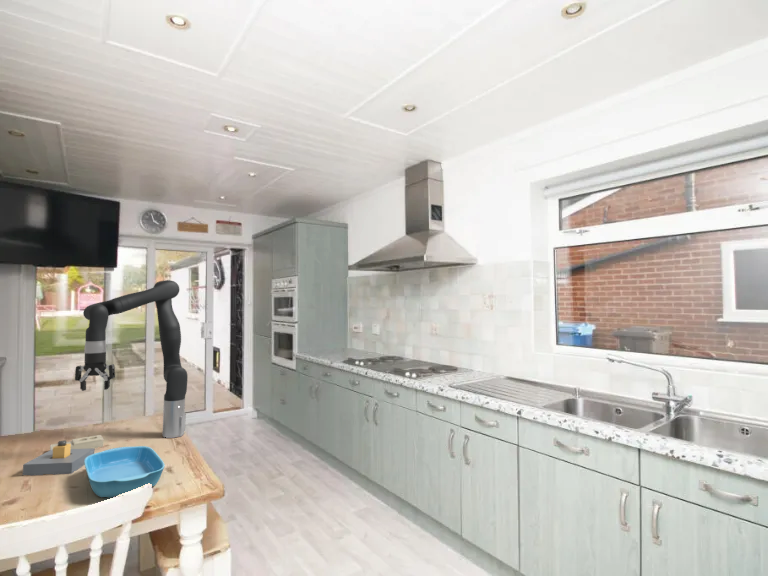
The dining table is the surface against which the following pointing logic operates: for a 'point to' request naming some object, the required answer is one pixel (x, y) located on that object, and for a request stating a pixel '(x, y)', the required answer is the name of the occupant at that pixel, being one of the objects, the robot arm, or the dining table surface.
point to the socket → (57, 463)
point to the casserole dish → (123, 469)
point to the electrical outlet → (84, 442)
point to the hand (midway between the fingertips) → (95, 389)
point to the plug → (61, 450)
